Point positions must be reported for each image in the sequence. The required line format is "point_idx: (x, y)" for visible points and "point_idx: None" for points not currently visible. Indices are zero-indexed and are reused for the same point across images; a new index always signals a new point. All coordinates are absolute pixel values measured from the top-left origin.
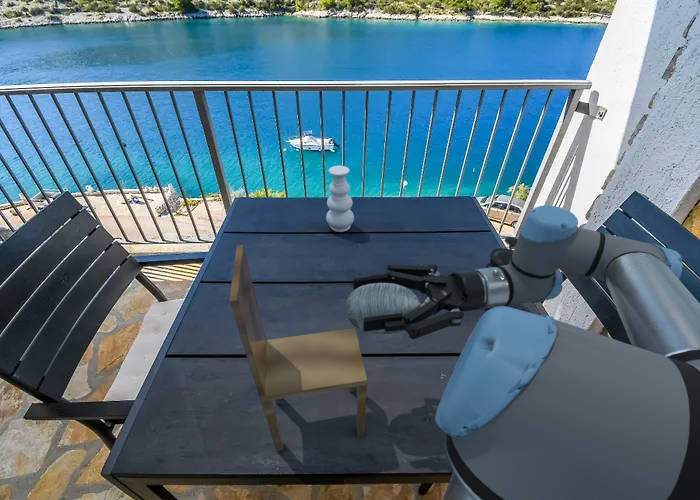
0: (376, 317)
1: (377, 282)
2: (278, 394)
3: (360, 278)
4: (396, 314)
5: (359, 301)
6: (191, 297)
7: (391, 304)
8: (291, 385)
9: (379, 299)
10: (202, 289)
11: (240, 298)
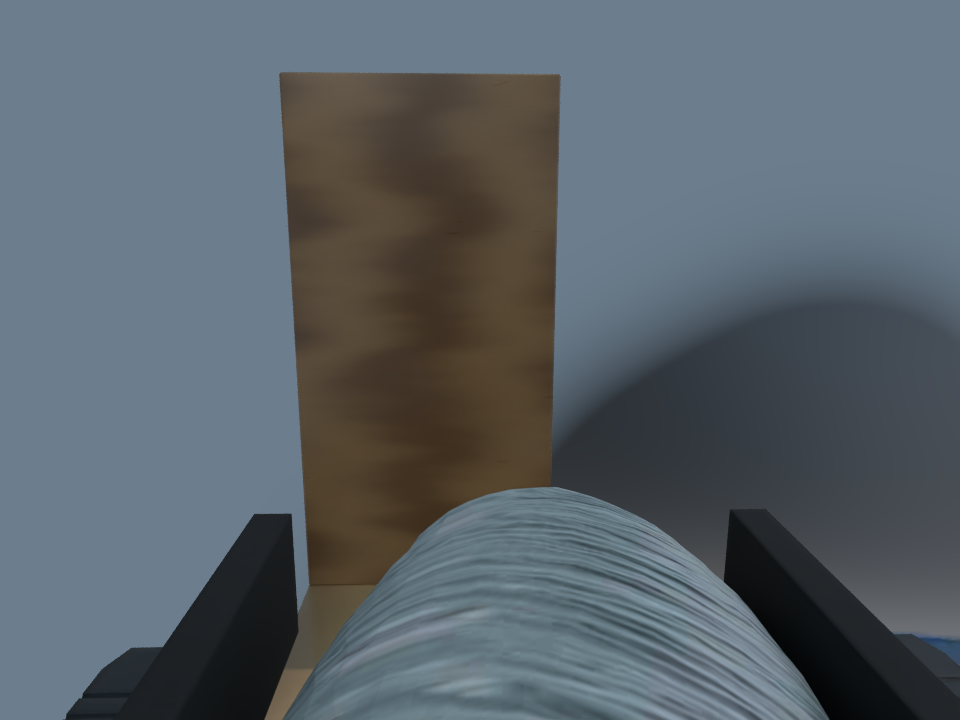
0: (245, 566)
1: (843, 710)
2: (298, 612)
3: (782, 538)
4: (164, 709)
5: (470, 505)
6: (893, 633)
7: (354, 687)
8: (316, 642)
9: (446, 580)
10: (944, 651)
11: (324, 112)
